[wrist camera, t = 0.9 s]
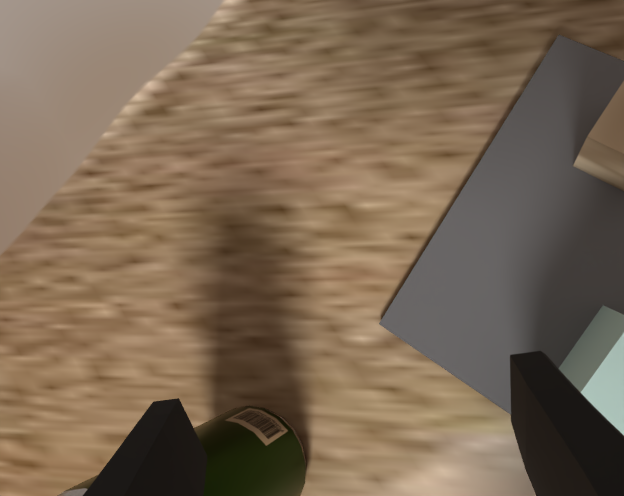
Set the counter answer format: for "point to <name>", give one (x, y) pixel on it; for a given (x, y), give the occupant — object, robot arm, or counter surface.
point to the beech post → (606, 145)
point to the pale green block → (600, 365)
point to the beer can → (246, 456)
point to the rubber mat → (523, 236)
